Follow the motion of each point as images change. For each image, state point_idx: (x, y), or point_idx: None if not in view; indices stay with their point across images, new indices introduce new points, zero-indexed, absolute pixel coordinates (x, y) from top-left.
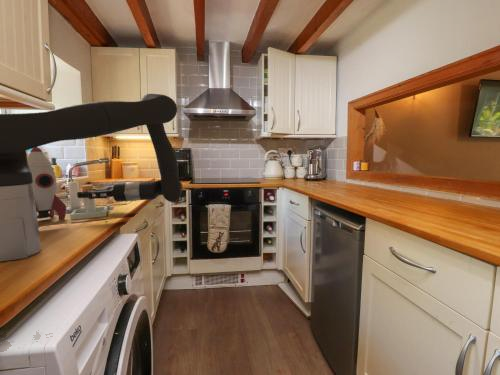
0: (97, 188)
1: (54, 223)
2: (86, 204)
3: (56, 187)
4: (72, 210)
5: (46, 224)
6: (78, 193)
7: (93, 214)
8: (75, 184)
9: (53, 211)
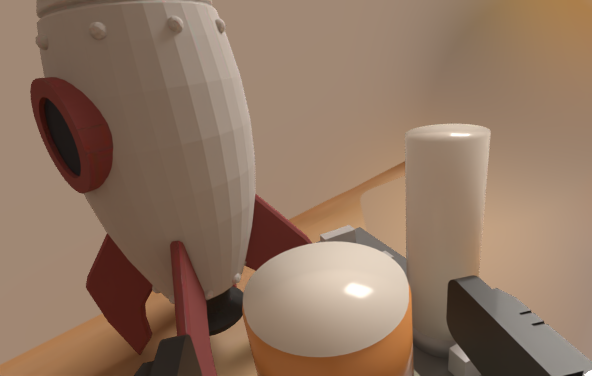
0: (568, 363)
1: (234, 370)
2: None
3: (184, 189)
4: None
5: (221, 347)
6: (141, 367)
7: None
8: (433, 162)
9: None
